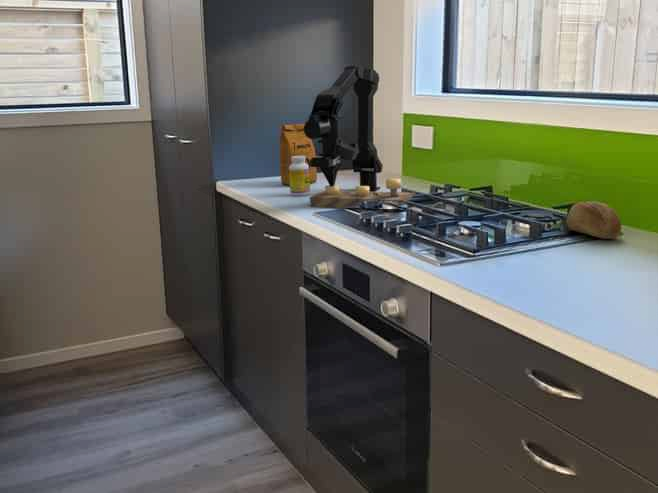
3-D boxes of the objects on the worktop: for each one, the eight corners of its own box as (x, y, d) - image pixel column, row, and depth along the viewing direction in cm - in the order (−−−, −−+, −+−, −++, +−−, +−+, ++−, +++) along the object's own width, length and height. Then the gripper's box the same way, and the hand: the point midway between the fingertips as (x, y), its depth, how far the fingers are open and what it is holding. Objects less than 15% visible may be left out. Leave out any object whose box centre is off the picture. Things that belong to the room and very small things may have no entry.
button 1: (329, 200, 218) (328, 184, 217) (341, 201, 216) (341, 185, 215) (323, 203, 214) (322, 187, 213) (336, 203, 212) (335, 187, 211)
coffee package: (320, 183, 253) (317, 122, 247) (290, 187, 247) (286, 125, 241) (308, 180, 261) (305, 121, 256) (278, 184, 255) (274, 124, 250)
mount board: (310, 206, 212) (309, 196, 211) (325, 199, 222) (325, 190, 222) (404, 210, 200) (403, 200, 199) (415, 202, 211) (415, 192, 210)
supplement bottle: (307, 196, 229) (305, 157, 225) (288, 196, 230) (286, 158, 227) (312, 192, 235) (310, 155, 232) (293, 193, 236) (291, 155, 233)
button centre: (358, 201, 214) (358, 185, 213) (372, 202, 212) (371, 185, 211) (353, 204, 210) (352, 188, 209) (367, 205, 208) (366, 188, 207)
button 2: (389, 195, 209) (388, 178, 208) (403, 195, 208) (402, 178, 206) (384, 197, 205) (384, 180, 204) (398, 198, 204) (398, 181, 202)
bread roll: (596, 244, 155) (598, 209, 153) (555, 231, 169) (556, 199, 167) (631, 239, 158) (633, 205, 156) (587, 226, 172) (589, 195, 170)
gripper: (342, 138, 198) (344, 192, 202) (365, 132, 215) (367, 181, 219) (307, 139, 203) (310, 191, 207) (332, 132, 219) (334, 181, 223)
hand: (332, 186), depth 214 cm, fingers closed, pressing on button 1
